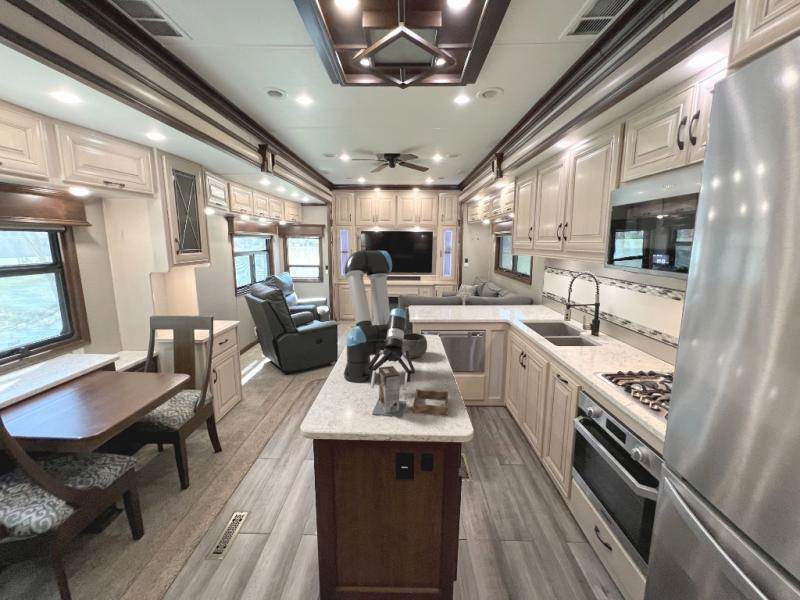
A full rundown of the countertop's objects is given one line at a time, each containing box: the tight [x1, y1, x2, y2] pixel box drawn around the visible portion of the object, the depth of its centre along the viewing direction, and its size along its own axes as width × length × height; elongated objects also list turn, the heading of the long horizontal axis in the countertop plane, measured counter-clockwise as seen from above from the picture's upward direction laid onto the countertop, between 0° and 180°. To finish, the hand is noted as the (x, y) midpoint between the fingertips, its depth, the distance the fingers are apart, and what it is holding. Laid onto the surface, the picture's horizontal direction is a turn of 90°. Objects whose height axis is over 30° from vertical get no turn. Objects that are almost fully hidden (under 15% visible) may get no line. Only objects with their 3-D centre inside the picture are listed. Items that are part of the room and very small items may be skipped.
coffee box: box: [378, 365, 401, 413], centre depth 133 cm, size 9×6×16 cm
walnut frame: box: [412, 388, 449, 417], centre depth 137 cm, size 14×14×4 cm
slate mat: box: [371, 398, 406, 418], centre depth 135 cm, size 12×12×1 cm
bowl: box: [402, 332, 428, 359], centre depth 192 cm, size 18×18×13 cm
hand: (388, 388), depth 130 cm, fingers open, 13 cm apart
